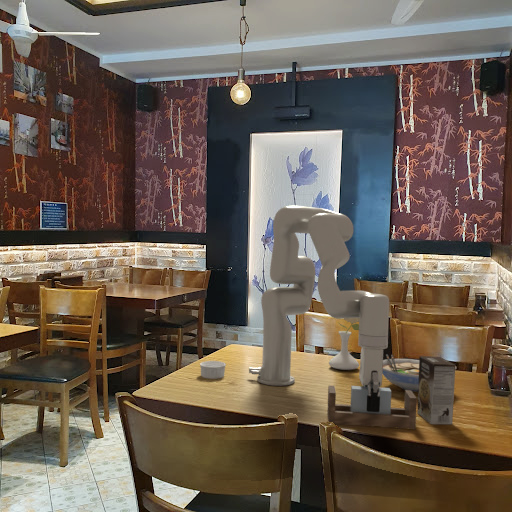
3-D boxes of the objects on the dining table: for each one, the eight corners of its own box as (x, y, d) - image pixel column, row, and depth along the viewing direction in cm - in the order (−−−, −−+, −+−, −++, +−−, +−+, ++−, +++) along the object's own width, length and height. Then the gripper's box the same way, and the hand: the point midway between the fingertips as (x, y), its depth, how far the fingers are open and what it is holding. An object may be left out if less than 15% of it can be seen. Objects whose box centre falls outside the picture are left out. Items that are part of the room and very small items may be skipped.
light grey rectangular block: (351, 419, 132) (352, 388, 132) (350, 415, 135) (351, 385, 135) (390, 421, 131) (391, 391, 131) (388, 417, 134) (389, 388, 134)
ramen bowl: (456, 403, 151) (457, 376, 151) (378, 396, 156) (379, 370, 156) (442, 381, 176) (443, 358, 176) (375, 376, 180) (376, 353, 180)
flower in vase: (323, 369, 188) (326, 302, 188) (335, 363, 198) (337, 300, 198) (356, 374, 182) (359, 305, 181) (367, 368, 191) (370, 303, 191)
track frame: (328, 423, 131) (329, 392, 130) (327, 414, 138) (328, 385, 137) (415, 429, 128) (416, 398, 128) (409, 419, 135) (411, 390, 135)
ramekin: (224, 380, 169) (224, 367, 169) (198, 379, 169) (198, 366, 169) (226, 373, 178) (226, 361, 178) (201, 372, 178) (201, 360, 178)
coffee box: (416, 412, 141) (418, 355, 141) (438, 413, 142) (440, 356, 142) (430, 424, 132) (432, 363, 132) (453, 424, 133) (456, 363, 132)
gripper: (355, 334, 141) (353, 394, 142) (362, 346, 124) (359, 415, 125) (382, 335, 141) (380, 396, 141) (393, 348, 123) (390, 417, 124)
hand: (370, 405), depth 133 cm, fingers open, 9 cm apart
